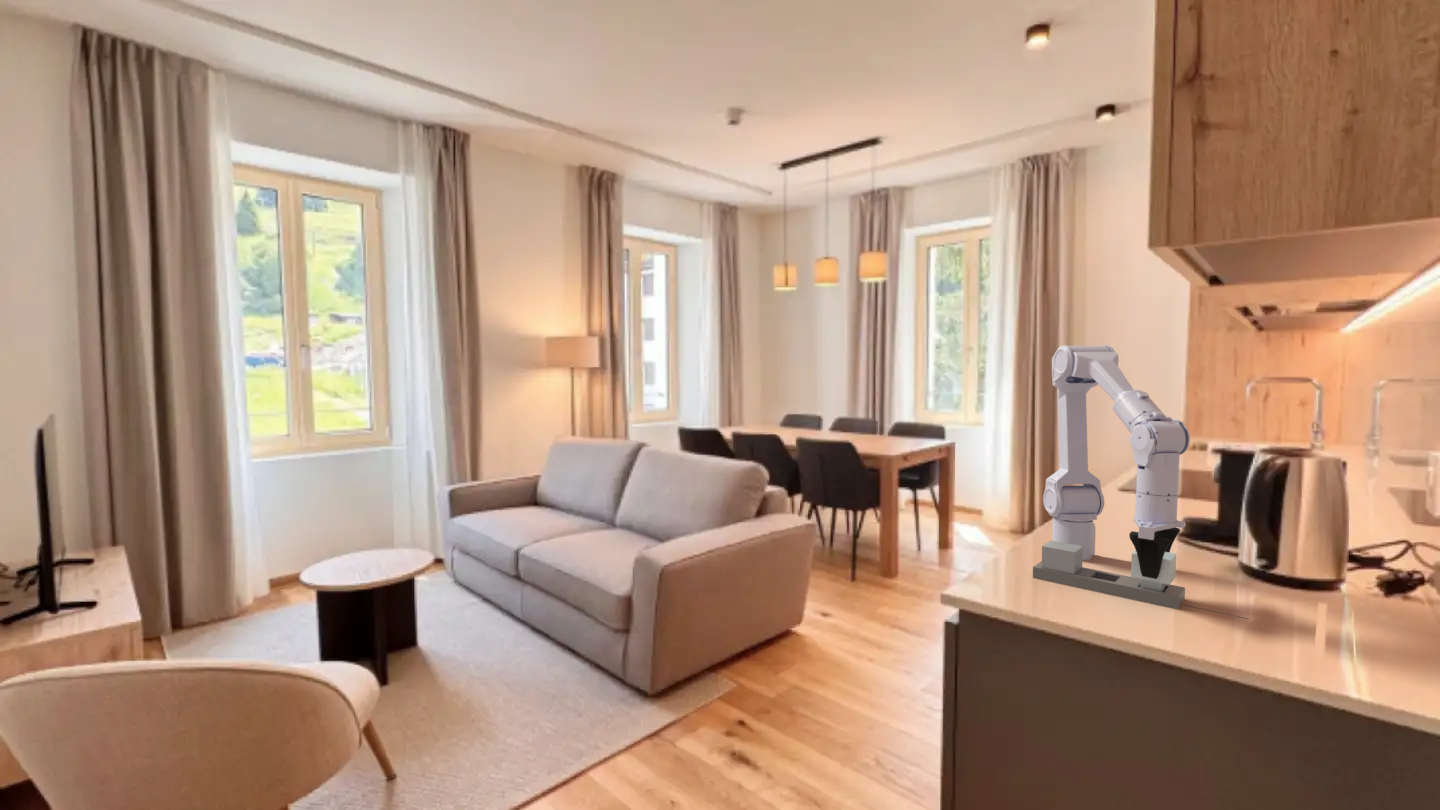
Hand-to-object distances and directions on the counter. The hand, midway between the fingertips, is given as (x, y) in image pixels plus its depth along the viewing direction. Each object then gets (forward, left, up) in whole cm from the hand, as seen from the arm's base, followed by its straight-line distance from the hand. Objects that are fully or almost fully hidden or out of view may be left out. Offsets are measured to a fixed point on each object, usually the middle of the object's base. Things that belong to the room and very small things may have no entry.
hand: (1153, 572), depth 107 cm
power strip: (0, -3, -5) cm, 6 cm away
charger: (0, 0, -3) cm, 3 cm away
